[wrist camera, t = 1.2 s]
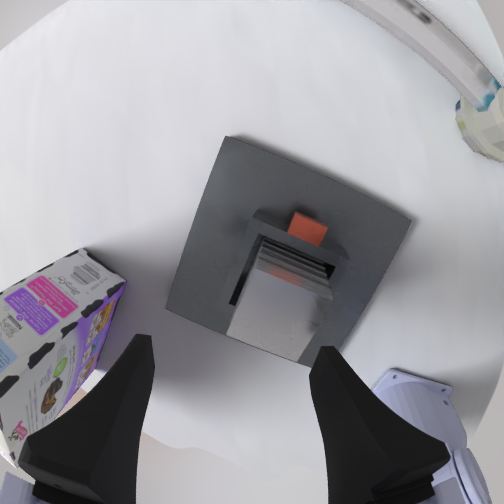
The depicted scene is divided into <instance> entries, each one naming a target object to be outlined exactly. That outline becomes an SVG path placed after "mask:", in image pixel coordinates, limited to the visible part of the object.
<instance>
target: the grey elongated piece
mask: <svg viewBox="0 0 504 504" xmlns="http://www.w3.org/2000/svg"><path fill="white" fill-rule="evenodd" d="M341 1H342V2H344V3H346V4H348V5H349V6H351V7H353V8H354V9H356V10H358V11H359V12H361V13H362V14H364V15H366V16H367V17H369V18H370V19H372V20H373V21H375V22H376V23H378V24H379V25H381V26H382V27H384V28H385V29H386V30H388V31H389V32H391V33H392V34H393V35H395V36H396V37H397V38H399V39H400V40H401V41H403V42H404V43H405V44H407V45H408V46H409V47H410V48H412V49H413V50H414V51H415V52H417V53H418V54H419V55H420V56H421V57H423V58H424V59H425V60H426V61H427V62H428V63H430V64H431V65H432V66H433V67H434V68H435V69H436V70H438V71H439V72H440V73H441V74H442V75H443V76H444V77H445V78H446V79H447V80H448V81H449V82H450V83H451V84H452V85H453V86H454V87H455V88H456V89H457V90H458V91H459V92H460V93H461V95H460V100H459V101H458V103H457V104H456V120H457V122H458V125H459V127H460V130H461V132H462V134H463V137H462V138H463V140H464V141H465V142H466V143H467V144H468V145H469V147H470V148H471V149H472V150H473V152H474V151H476V152H478V153H480V154H482V155H483V156H485V157H487V159H488V158H493V159H495V160H496V161H498V162H504V87H502V86H501V85H500V84H499V83H498V81H497V80H496V79H495V78H494V76H493V75H492V74H491V73H490V72H489V70H488V69H487V68H486V67H485V66H484V65H483V64H482V62H481V61H480V60H479V59H478V58H477V57H476V56H475V55H474V54H473V53H472V52H471V50H470V49H469V48H468V47H467V46H466V45H465V44H464V43H463V42H462V41H461V40H460V39H459V38H458V37H457V36H456V35H455V34H454V33H452V32H451V31H450V30H449V29H448V28H447V27H446V26H445V25H444V24H443V23H442V22H440V21H439V20H438V19H437V18H436V17H435V16H434V15H432V14H431V13H430V12H429V11H428V10H426V9H425V8H424V7H423V6H421V5H420V4H419V3H418V2H416V1H415V0H341Z"/></svg>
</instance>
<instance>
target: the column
mask: <svg viewBox="0 0 504 504" xmlns="http://www.w3.org/2000/svg"><path fill="white" fill-rule="evenodd" d="M323 263H324V262H323V261H322V260H319V259H317V258H315V257H313V256H310V255H308V254H306V253H303V252H301V251H299V250H296V249H294V248H292V247H289V246H287V245H285V244H283V243H280V242H278V241H275V240H273V239H271V238H268V237H266V236H264V238H263V241H262V243H261V245H260V248H259V250H258V252H257V255H256V257H255V259H254V261H253V264H252V266H251V268H250V271H249V273H248V275H247V278H246V280H245V282H244V285H243V288H242V290H241V293H240V296H239V299H238V301H237V303H236V307H235V309H234V311H233V315H232V317H231V320H230V325H229V328H228V330H227V333H226V335H228V336H230V337H233V338H235V339H238V340H240V341H242V342H245V343H247V344H250V345H253V346H255V347H258V348H260V349H263V350H265V351H268V352H271V353H273V354H276V355H279V356H282V357H284V358H287V359H290V360H293V361H295V362H297V361H298V359H299V357H300V356H301V354H302V353H303V351H304V350H305V348H306V346H307V345H308V343H309V341H310V340H311V338H312V337H313V335H314V333H315V332H316V330H317V328H318V327H319V325H320V323H321V322H322V320H323V318H324V316H325V315H326V313H327V311H328V310H329V308H330V306H331V304H332V303H333V298H332V294H331V286H329V283H328V282H329V279H327V273H326V272H325V267H324V266H323Z"/></svg>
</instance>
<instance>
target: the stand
mask: <svg viewBox="0 0 504 504" xmlns="http://www.w3.org/2000/svg"><path fill="white" fill-rule="evenodd" d="M410 223H411V220H410V219H408V218H406V217H404V216H402V215H401V214H399V213H397V212H395V211H393V210H391V209H390V208H388V207H386V206H384V205H382V204H380V203H378V202H376V201H374V200H372V199H370V198H368V197H367V196H365V195H363V194H361V193H359V192H357V191H355V190H353V189H350V188H348V187H346V186H344V185H342V184H340V183H338V182H336V181H334V180H332V179H330V178H327V177H325V176H323V175H321V174H319V173H316V172H314V171H312V170H310V169H308V168H305V167H303V166H301V165H298V164H296V163H294V162H291V161H289V160H287V159H284V158H282V157H280V156H277V155H275V154H272V153H270V152H267V151H265V150H262V149H260V148H257V147H255V146H252V145H250V144H247V143H244V142H242V141H239V140H236V139H234V138H231V137H228V136H225V138H224V140H223V143H222V145H221V148H220V150H219V153H218V156H217V158H216V161H215V163H214V166H213V169H212V171H211V174H210V176H209V179H208V182H207V185H206V187H205V190H204V193H203V195H202V198H201V201H200V204H199V207H198V209H197V212H196V215H195V218H194V221H193V224H192V227H191V230H190V233H189V236H188V238H187V241H186V244H185V248H184V251H183V254H182V257H181V260H180V263H179V266H178V269H177V272H176V276H175V279H174V282H173V285H172V289H171V292H170V295H169V298H168V302H167V305H166V309H167V310H169V311H172V312H174V313H176V314H178V315H180V316H182V317H185V318H187V319H189V320H191V321H193V322H196V323H198V324H200V325H203V326H205V327H207V328H209V329H212V330H214V331H217V332H219V333H221V334H224V335H226V333H227V330H228V328H229V325H230V320H231V317H232V315H233V311H234V309H235V307H236V303H237V301H238V299H239V296H240V293H241V290H242V288H243V285H244V282H245V280H246V278H247V275H248V273H249V271H250V268H251V266H252V264H253V261H254V259H255V257H256V255H257V252H258V250H259V248H260V245H261V243H262V241H263V238H264V236H266V237H268V238H271V239H273V240H275V241H278V242H280V243H283V244H285V245H287V246H289V247H292V248H294V249H296V250H299V251H301V252H303V253H306V254H308V255H310V256H313V257H315V258H317V259H319V260H322V261H323V262H324V263H323V266H324V267H325V272H326V273H327V279H329V282H328V283H329V286H331V294H332V298H333V303H332V304H331V306H330V308H329V310H328V311H327V313H326V315H325V316H324V318H323V320H322V322H321V323H320V325H319V327H318V328H317V330H316V332H315V333H314V335H313V337H312V338H311V340H310V341H309V343H308V345H307V346H306V348H305V350H304V351H303V353H302V354H301V356H300V357H299V359H298V361H297V362H296V363H299V364H302V365H305V366H308V367H311V368H312V367H313V364H314V362H315V360H316V357H317V355H318V352H319V350H320V347H321V346H334V347H335V348H336V349H337V350H338V349H339V348H340V347H341V345H342V343H343V342H344V340H345V339H346V337H347V336H348V334H349V333H350V331H351V330H352V328H353V326H354V325H355V323H356V322H357V320H358V318H359V317H360V315H361V314H362V312H363V310H364V309H365V307H366V305H367V304H368V302H369V300H370V299H371V297H372V295H373V293H374V292H375V290H376V288H377V287H378V285H379V283H380V281H381V279H382V278H383V276H384V274H385V272H386V270H387V268H388V267H389V265H390V263H391V261H392V259H393V257H394V255H395V253H396V251H397V250H398V248H399V246H400V244H401V242H402V240H403V238H404V236H405V234H406V232H407V230H408V227H409V225H410ZM226 336H228V335H226ZM228 337H230V336H228ZM231 338H233V337H231ZM233 339H235V338H233ZM236 340H238V339H236ZM238 341H240V340H238ZM241 342H242V341H241ZM243 343H245V342H243ZM246 344H247V343H246ZM248 345H250V344H248ZM251 346H253V345H251ZM253 347H255V346H253ZM256 348H258V347H256ZM258 349H260V348H258ZM261 350H263V349H261ZM264 351H265V350H264ZM266 352H268V351H266ZM269 353H271V352H269ZM272 354H273V353H272ZM274 355H276V354H274ZM277 356H279V355H277ZM280 357H282V356H280ZM282 358H284V357H282ZM285 359H287V358H285ZM288 360H290V359H288ZM291 361H293V360H291ZM293 362H295V361H293Z"/></svg>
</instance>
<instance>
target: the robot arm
mask: <svg viewBox="0 0 504 504" xmlns="http://www.w3.org/2000/svg"><path fill="white" fill-rule="evenodd" d="M154 370H155V364H154V357H153V349H152V340H151V336H150V335H142V334H136V335H135V336H134V337H133V339H132V340H131V342H130V343H129V345H128V346H127V348H126V349H125V350H124V352H123V353H122V354H121V356H120V357H119V358H118V360H117V361H116V362H115V363H114V365H113V366H112V367H111V369H110V370H109V371H108V372H107V373H106V374H105V376H104V377H103V378H102V379H101V380H100V381H99V382H98V383H97V385H96V386H95V387H94V388H93V389H92V390H91V391H90V392H89V393H88V394H87V395H86V396H85V397H83V398H82V399H81V400H80V401H79V402H78V403H77V404H76V405H74V406H73V407H72V408H71V409H69V410H68V411H67V412H66V413H64V414H63V415H62V416H60V417H59V418H57V419H56V420H54V421H53V422H51V423H50V424H48V425H47V426H45V427H43V428H42V429H40V430H38V431H36V432H34V433H33V434H31V435H29V436H27V438H26V440H25V442H24V444H23V447H22V449H21V452H20V456H19V459H18V462H17V463H18V465H19V466H20V467H21V468H22V469H23V470H24V471H25V472H26V473H28V474H29V475H30V476H31V477H33V478H34V479H35V480H36V481H35V485H33V484H31V483H29V482H27V481H25V480H23V479H21V478H19V477H17V476H15V475H13V474H11V473H9V472H6V473H5V476H4V480H3V483H2V487H1V490H0V504H136V475H137V462H138V451H139V441H140V435H141V430H142V426H143V422H144V417H145V413H146V409H147V406H148V402H149V398H150V394H151V390H152V384H153V377H154ZM394 375H396V376H394ZM309 381H310V389H311V396H312V400H313V404H314V407H315V411H316V415H317V419H318V422H319V426H320V430H321V434H322V438H323V442H324V449H325V457H326V466H327V477H328V504H492V501H491V498H490V496H489V492H488V488H487V485H486V482H485V479H484V477H483V474H482V472H481V470H480V467H479V465H478V463H477V461H476V459H475V457H474V455H473V454H472V452H471V451H470V449H469V448H466V446H467V435H466V432H465V429H464V427H463V425H462V423H461V421H460V419H459V417H458V415H457V413H456V411H455V409H454V407H453V405H452V403H451V401H450V399H449V397H448V396H449V395H450V394H451V393H452V391H453V388H452V387H451V386H448V385H444V384H441V383H437V382H434V381H430V380H427V379H423V378H420V377H417V376H413V375H410V374H407V373H404V372H400V371H397V370H394V369H390V370H388V371H387V372H386V373H385V375H384V376H383V377H382V378H381V380H380V381H379V382H378V383H377V385H376V386H375V387H374V388H373V389H372V391H371V390H370V389H369V388H368V387H367V385H366V384H365V383H364V382H363V381H362V380H361V379H360V378H359V376H358V375H357V374H356V373H355V372H354V370H353V369H352V368H351V367H350V365H349V364H348V363H347V362H346V361H345V359H344V358H343V357H342V355H341V354H340V353H339V352H338V350H337V349H336V348H335V347H334V346H321V347H320V350H319V352H318V355H317V357H316V360H315V362H314V364H313V367H312V369H311V372H310V374H309Z"/></svg>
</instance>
